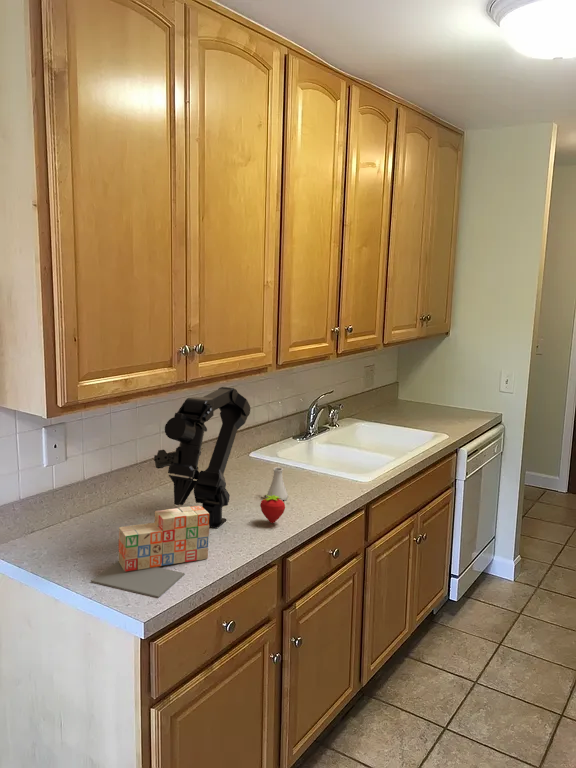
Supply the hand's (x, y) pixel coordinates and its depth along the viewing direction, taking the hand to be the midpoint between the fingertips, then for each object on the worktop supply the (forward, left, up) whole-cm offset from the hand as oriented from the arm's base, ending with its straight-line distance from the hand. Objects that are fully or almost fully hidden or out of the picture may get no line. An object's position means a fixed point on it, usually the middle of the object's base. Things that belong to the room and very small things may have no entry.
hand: (178, 504), depth 166 cm
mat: (+17, -1, -12) cm, 21 cm away
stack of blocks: (+7, 0, -12) cm, 14 cm away
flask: (-47, +10, -13) cm, 50 cm away
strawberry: (-27, +16, -13) cm, 34 cm away
